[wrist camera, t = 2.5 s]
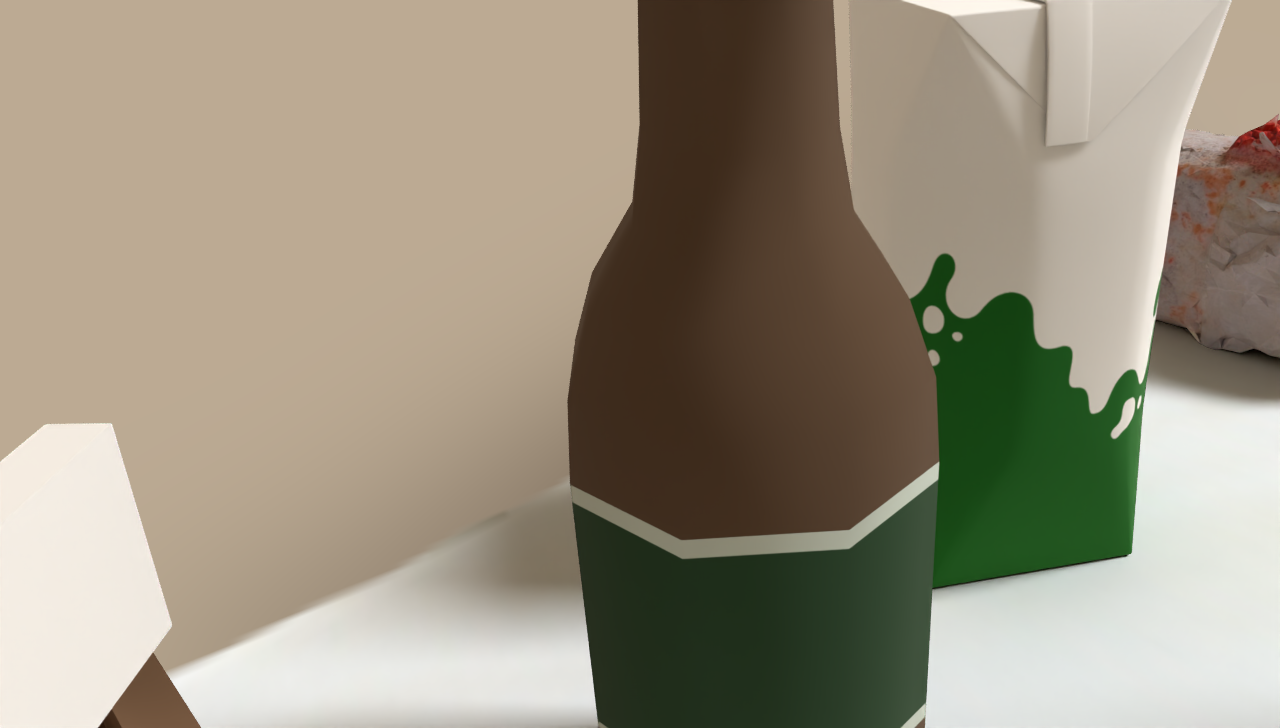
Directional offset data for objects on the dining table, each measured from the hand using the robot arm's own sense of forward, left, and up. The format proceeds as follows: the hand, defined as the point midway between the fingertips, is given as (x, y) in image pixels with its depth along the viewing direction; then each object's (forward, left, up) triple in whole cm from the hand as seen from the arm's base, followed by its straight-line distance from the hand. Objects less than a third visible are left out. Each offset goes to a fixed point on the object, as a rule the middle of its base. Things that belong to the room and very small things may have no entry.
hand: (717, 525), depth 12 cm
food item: (-43, -11, -16) cm, 48 cm away
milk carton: (-22, -11, -16) cm, 29 cm away
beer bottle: (-7, -7, -16) cm, 19 cm away
